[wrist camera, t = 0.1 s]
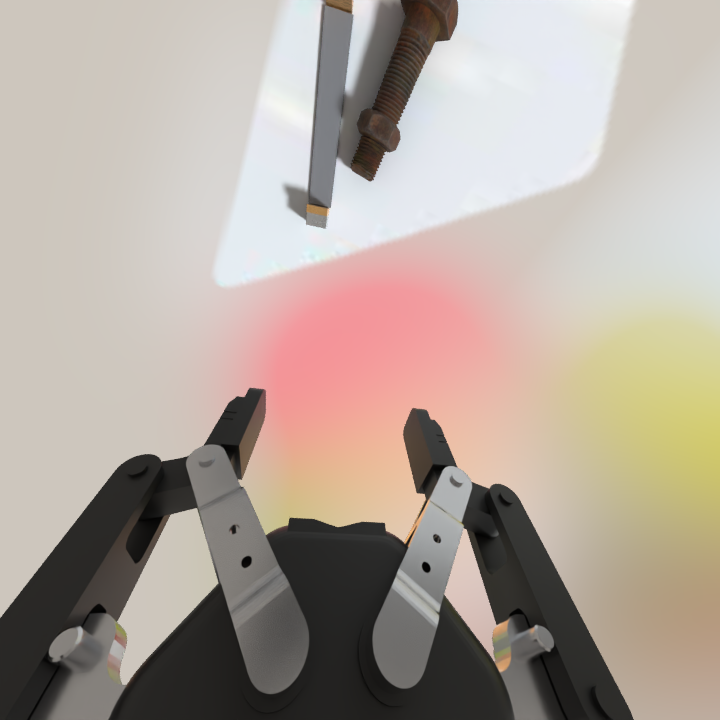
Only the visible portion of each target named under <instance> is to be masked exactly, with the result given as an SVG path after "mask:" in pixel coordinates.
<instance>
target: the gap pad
mask: <svg viewBox="0 0 720 720" xmlns="http://www.w3.org/2000/svg"><path fill="white" fill-rule="evenodd" d="M352 22H353V14H350V13H347V12H344V11H341V10H338V9H335V8H332V7H329V6H326V5H325V8H324V21H323V33H322V46H321V58H320V71H319V84H318V96H317V109H316V122H315V134H314V147H313V160H312V172H311V185H310V197H309V203H312V204H316V205H321V206H325V207H329V208H331V200H332V191H333V183H334V174H335V166H336V157H337V149H338V140H339V132H340V123H341V115H342V106H343V98H344V89H345V81H346V73H347V64H348V56H349V47H350V39H351V30H352Z"/></svg>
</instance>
